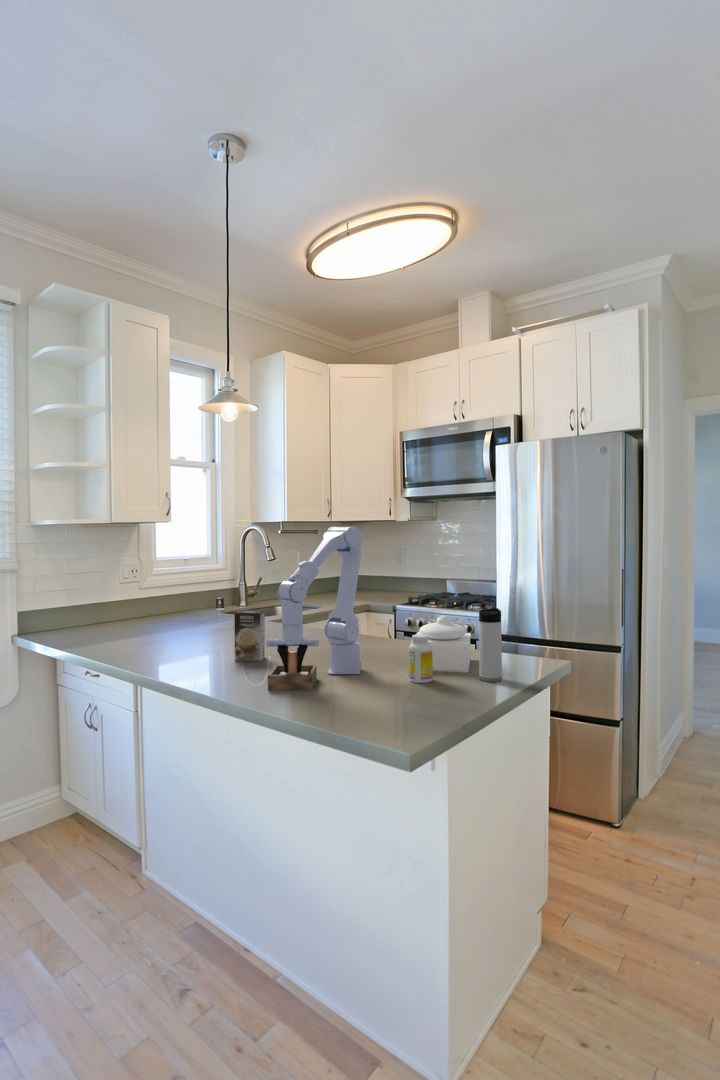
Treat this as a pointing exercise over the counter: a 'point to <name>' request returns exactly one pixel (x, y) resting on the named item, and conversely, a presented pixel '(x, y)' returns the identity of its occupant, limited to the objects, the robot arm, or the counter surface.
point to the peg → (292, 662)
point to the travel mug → (490, 645)
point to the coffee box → (249, 635)
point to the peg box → (292, 678)
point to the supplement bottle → (420, 659)
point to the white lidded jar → (448, 645)
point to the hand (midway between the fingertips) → (292, 672)
